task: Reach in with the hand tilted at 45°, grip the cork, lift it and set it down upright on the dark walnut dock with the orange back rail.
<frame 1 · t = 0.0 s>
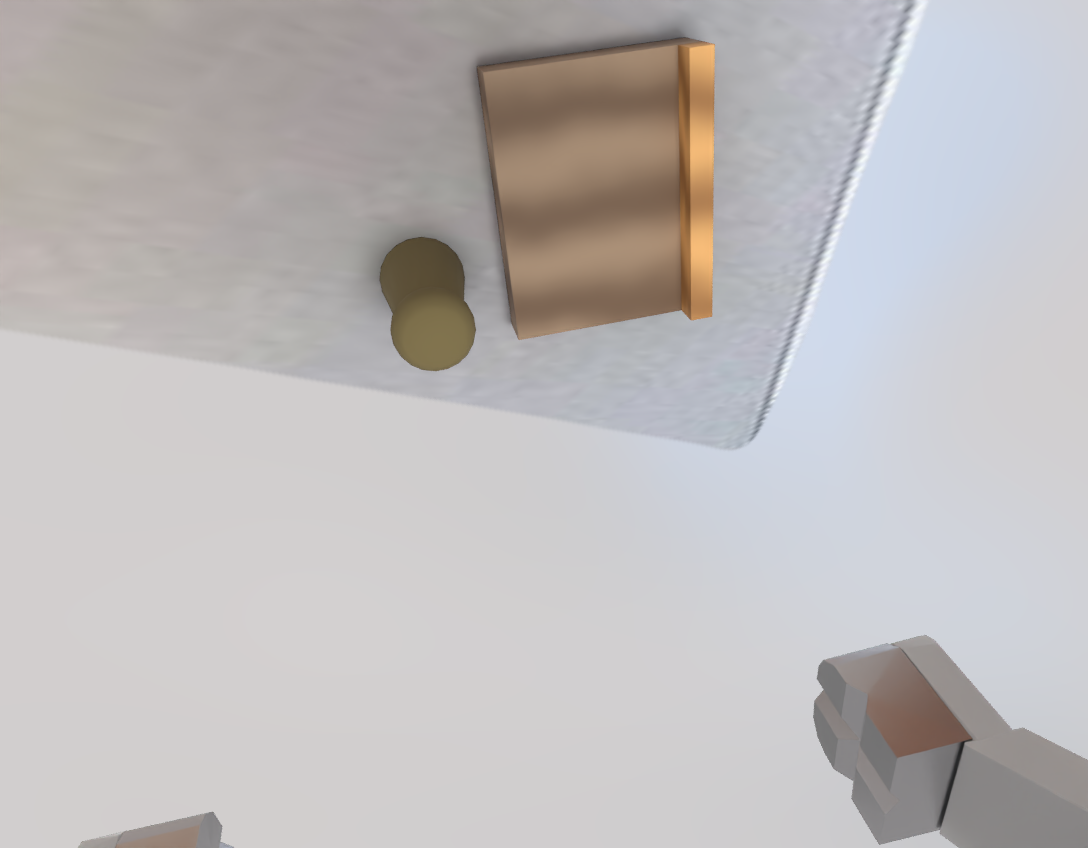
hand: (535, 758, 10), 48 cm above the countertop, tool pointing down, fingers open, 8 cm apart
dock: (592, 190, 56), on the countertop
cork: (422, 277, 57), on the countertop
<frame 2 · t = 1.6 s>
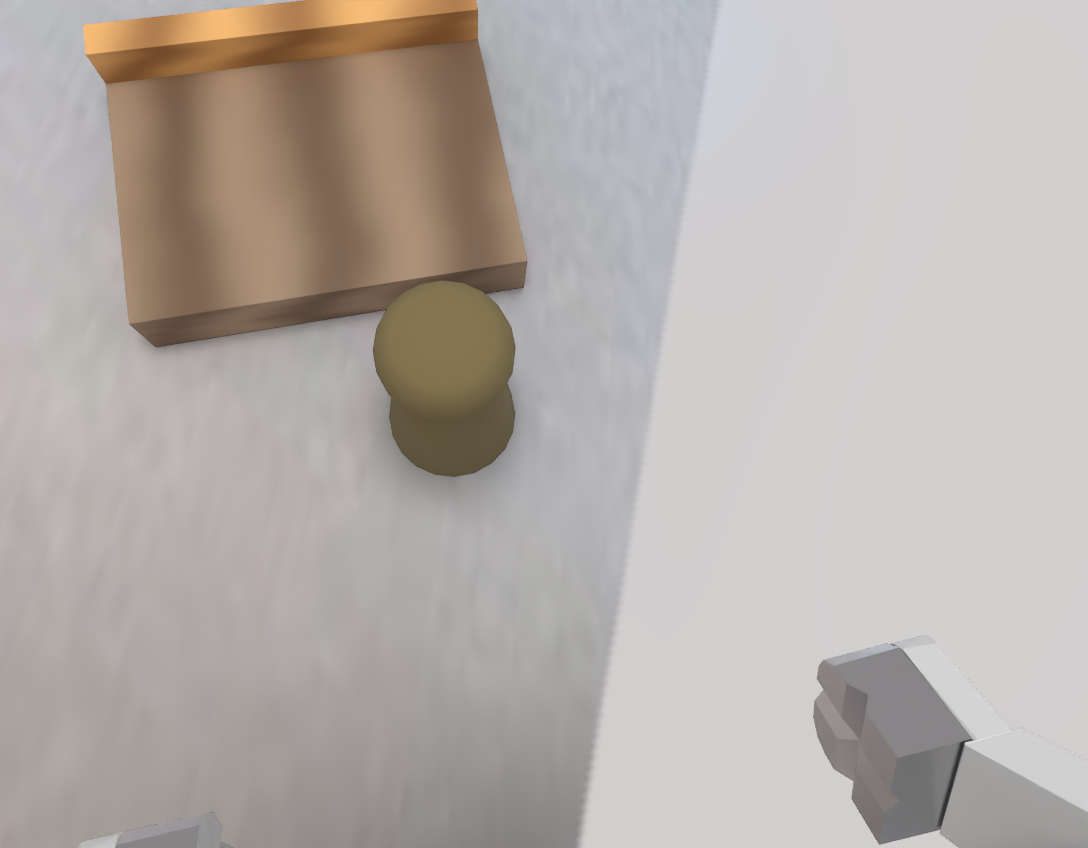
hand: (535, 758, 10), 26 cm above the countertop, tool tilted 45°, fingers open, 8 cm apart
dock: (324, 190, 40), on the countertop
cork: (452, 416, 38), on the countertop
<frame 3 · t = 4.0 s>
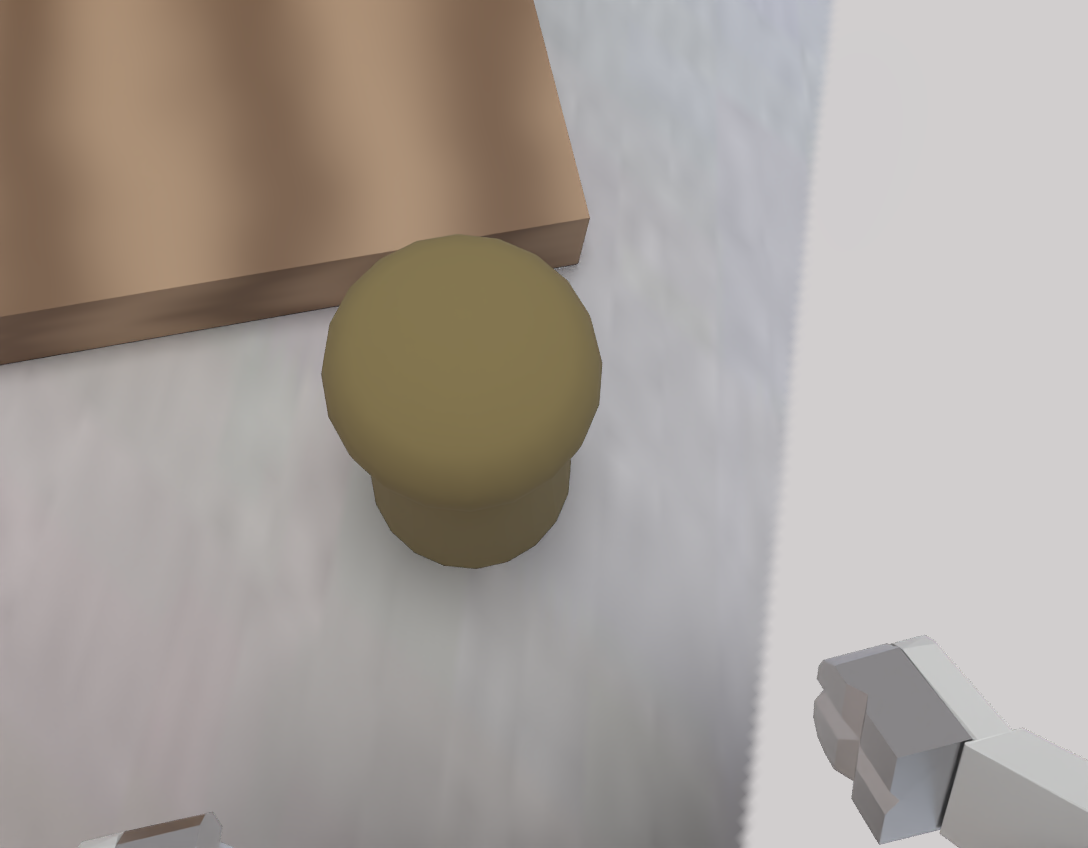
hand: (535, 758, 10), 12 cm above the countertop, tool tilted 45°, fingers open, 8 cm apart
dock: (268, 119, 26), on the countertop
cork: (471, 468, 24), on the countertop
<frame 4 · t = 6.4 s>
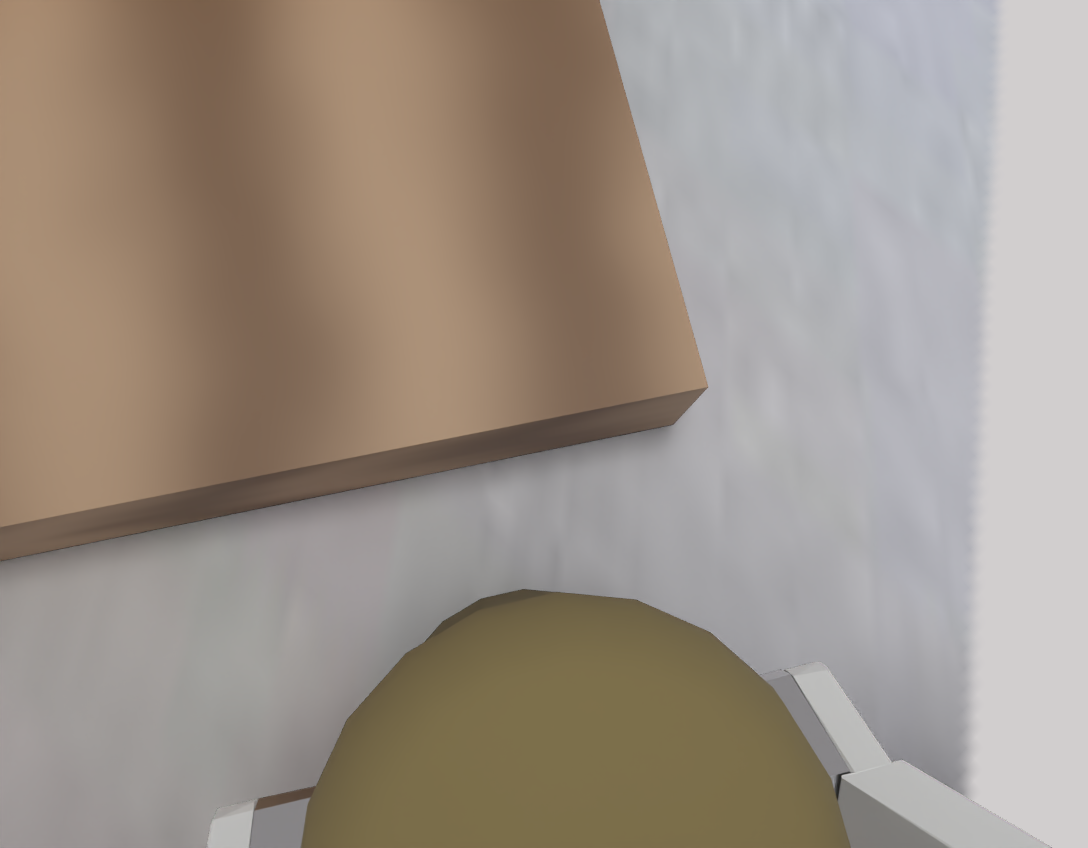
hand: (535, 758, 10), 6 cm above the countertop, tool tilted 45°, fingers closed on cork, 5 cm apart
dock: (244, 221, 19), on the countertop
cork: (531, 734, 17), on the countertop, touching gripper
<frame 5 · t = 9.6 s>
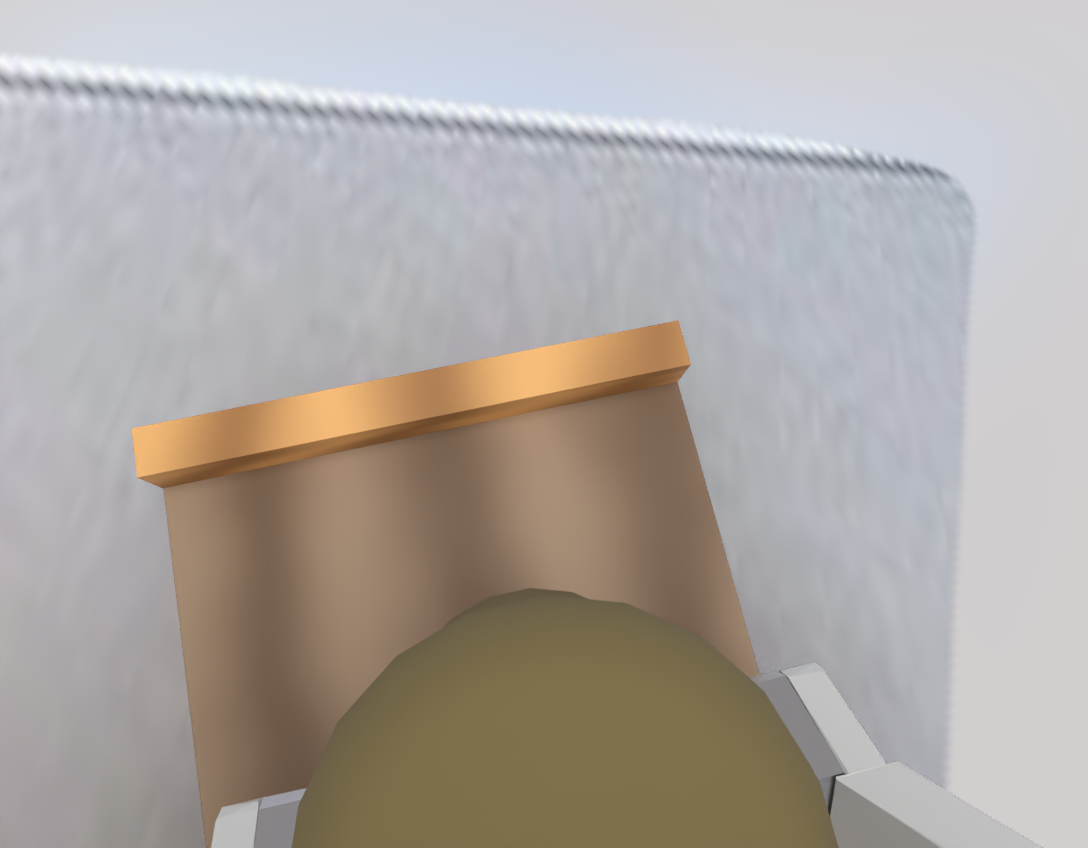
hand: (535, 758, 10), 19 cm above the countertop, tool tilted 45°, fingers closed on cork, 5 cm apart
dock: (464, 591, 29), on the countertop
cork: (538, 732, 17), point 12 cm above the countertop, touching gripper
when the fingers open (11 cm above the countertop, at t = 12.8 s): cork drops 1 cm, resting on dock.
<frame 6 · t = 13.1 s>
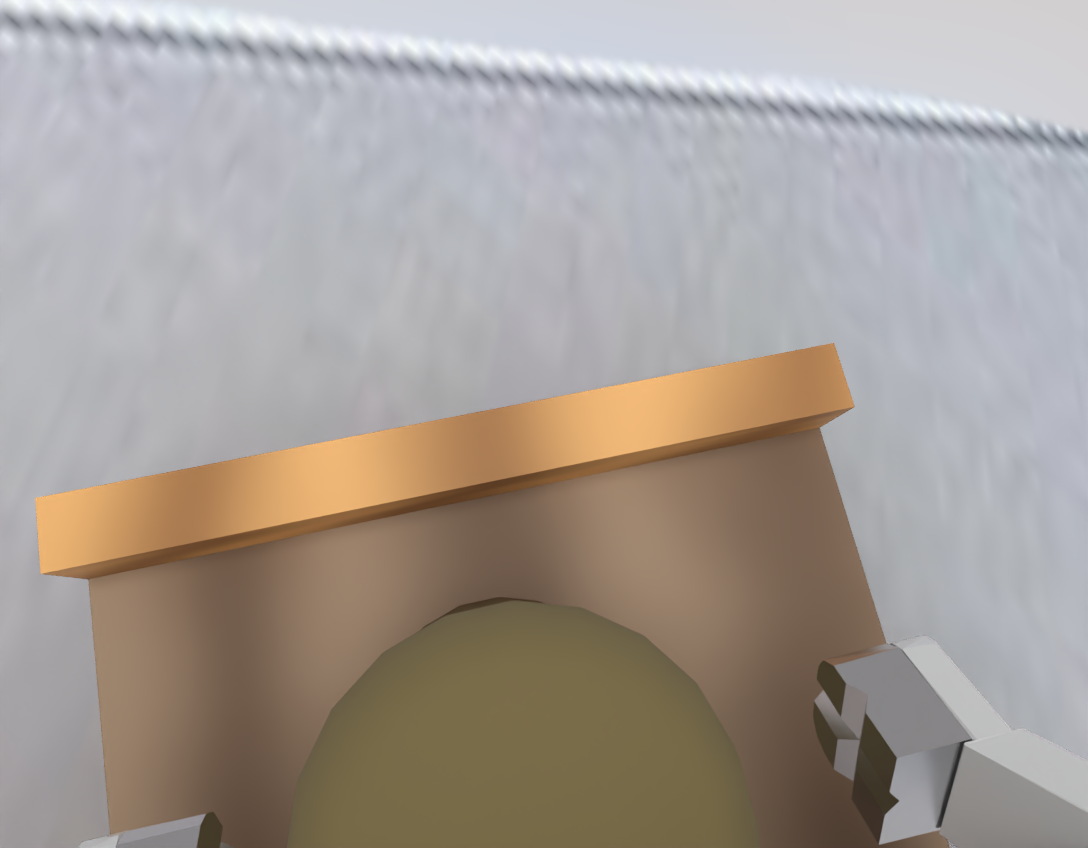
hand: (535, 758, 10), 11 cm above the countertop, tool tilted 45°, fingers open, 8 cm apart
dock: (516, 714, 21), on the countertop
cork: (504, 731, 18), point 3 cm above the countertop, touching dock
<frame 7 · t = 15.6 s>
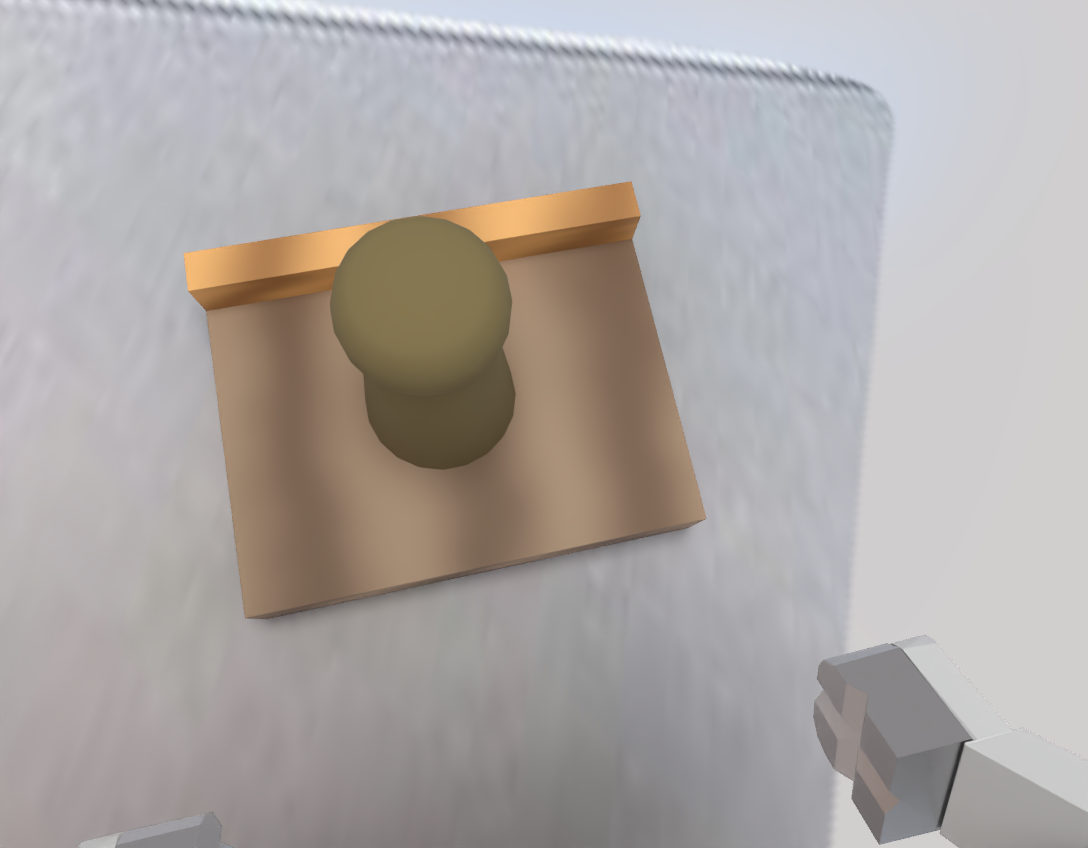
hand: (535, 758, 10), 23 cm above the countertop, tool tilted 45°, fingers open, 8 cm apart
dock: (453, 414, 35), on the countertop
cork: (441, 397, 32), point 3 cm above the countertop, touching dock
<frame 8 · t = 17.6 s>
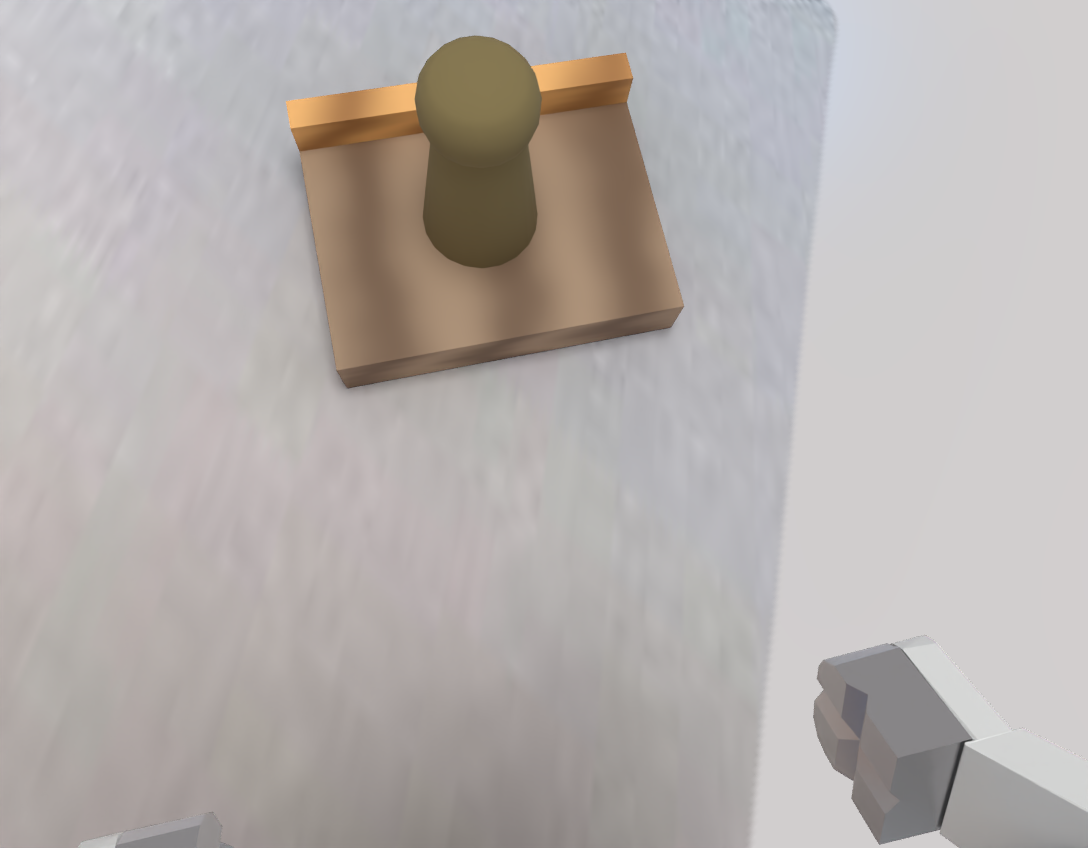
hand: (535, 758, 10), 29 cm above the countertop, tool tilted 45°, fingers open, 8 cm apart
dock: (487, 241, 44), on the countertop
cork: (480, 217, 42), point 3 cm above the countertop, touching dock
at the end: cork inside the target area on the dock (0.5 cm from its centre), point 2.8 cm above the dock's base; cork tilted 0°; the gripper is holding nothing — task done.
